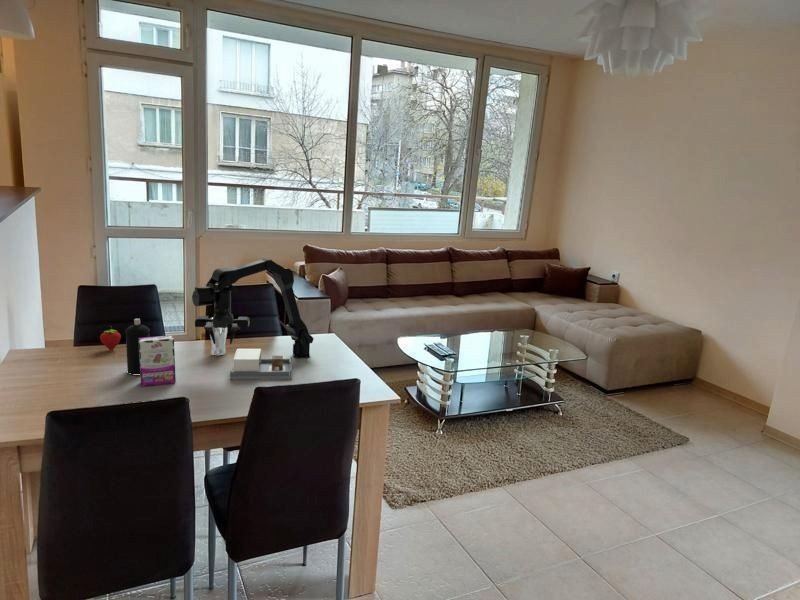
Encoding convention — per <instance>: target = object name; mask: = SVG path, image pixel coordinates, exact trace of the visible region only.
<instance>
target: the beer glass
mask: <svg viewBox="0 0 800 600" xmlns="http://www.w3.org/2000/svg"><path fill="white" fill-rule="evenodd" d="M209 319H213V317H210V318H209ZM227 335H228V327H227V328H215V336H216V344H214V343H213V340H212V337H211V335H210V334H209V336H210V337H209V338H210V343H211V349H210V355H211V356H214V355H215V356H214V357H218V356H219V357H220V355H222V356H225V355H226V354H227V349H226V340H227Z"/></svg>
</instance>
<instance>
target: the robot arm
mask: <svg viewBox="0 0 800 600" xmlns="http://www.w3.org/2000/svg"><path fill="white" fill-rule="evenodd" d="M264 271H266V272H267V273H269V274H270V275H272V278H273V280H274V282H275V284H276V285H277V287H278V288H279V289H280V292H281V296H282V300H283V303H284V307H285V309H286V311H285V312H286V315H287V317H288V324H285V325H284V326H285V329H286V334H288V335H289V337H291V340H292V341H294V343H292V355H293V358H310V357H311V356H310V355H311V354H310V349H311V348H310V347H311V346H310V344H312V343H313V341H314V337H313V336H312V335H311V334H310V333H309V329H308V327H307V325H306V323H305V322H304V321H303V319H302V318H301V314H300V310H299V307H298V303H297V299H296V296H295V291H294V289H293V287H294V282H295V279H294V278H295V277H294V272H293V270H292V269H290V268H289V267H285V266H282V265H280V264H278V263H277V262H275V261H273V260H272V259H270V258H266V257H263V258H261V259H259V260H255V261H253V262H252V261H251V262H249V263H246V264H241V265H239V266H236V267H235V266H234V267H220V268H216V269H215V270H213V272H212V273H211V277H210V278H209V280H208V281H207V283H206V284H205V286H195V287H194V291H193V293H192V295H191V299H192V304H193V305H194V307H205V306H212V305H213V304H214V312H213V314H212V315H213V319H210V318H209V315H198V316H197V317H196V318H195V320H194V327H195V328H203V330H207V331H208V333H209V336H210V335H211V337H212V340H213V343H214V344H216V336H215V328H227V329H228V325H231V329H230V339H229V345H232V343H233V340H234V337H235V334H236V332H237V330H240V329H243V328H245V329H246V328H249V326H250V317H249V316H238V318H237V319H236V318H235V319H234V314H233V313H232V295H231V294H232V292H236V291H237V288H236V287H234V284H235V283H237V282H238V281H239V280H241V279H243V278H245V277H249V276H252V275H256V274H259V273H262V272H264Z"/></svg>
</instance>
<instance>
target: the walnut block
mask: <svg viewBox="0 0 800 600" xmlns="http://www.w3.org/2000/svg"><path fill="white" fill-rule="evenodd" d="M271 359H272V370H275V367H279V370H283V359H284V356H283V355H272V356H271Z"/></svg>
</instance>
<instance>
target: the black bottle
mask: <svg viewBox="0 0 800 600" xmlns="http://www.w3.org/2000/svg"><path fill="white" fill-rule="evenodd" d="M133 323H134V324H132V325H130V326H128V327H127V328H126V329H125V330H124V333H125V343H126V344H125V345H126V364H127V365H126V366H127V371H128V373H131V374H140V357H139V338H146V337H151V334H150V332H151V329H150V328H149V327H148V326H146V325H144V324H141V319H140V318H134V319H133Z"/></svg>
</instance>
